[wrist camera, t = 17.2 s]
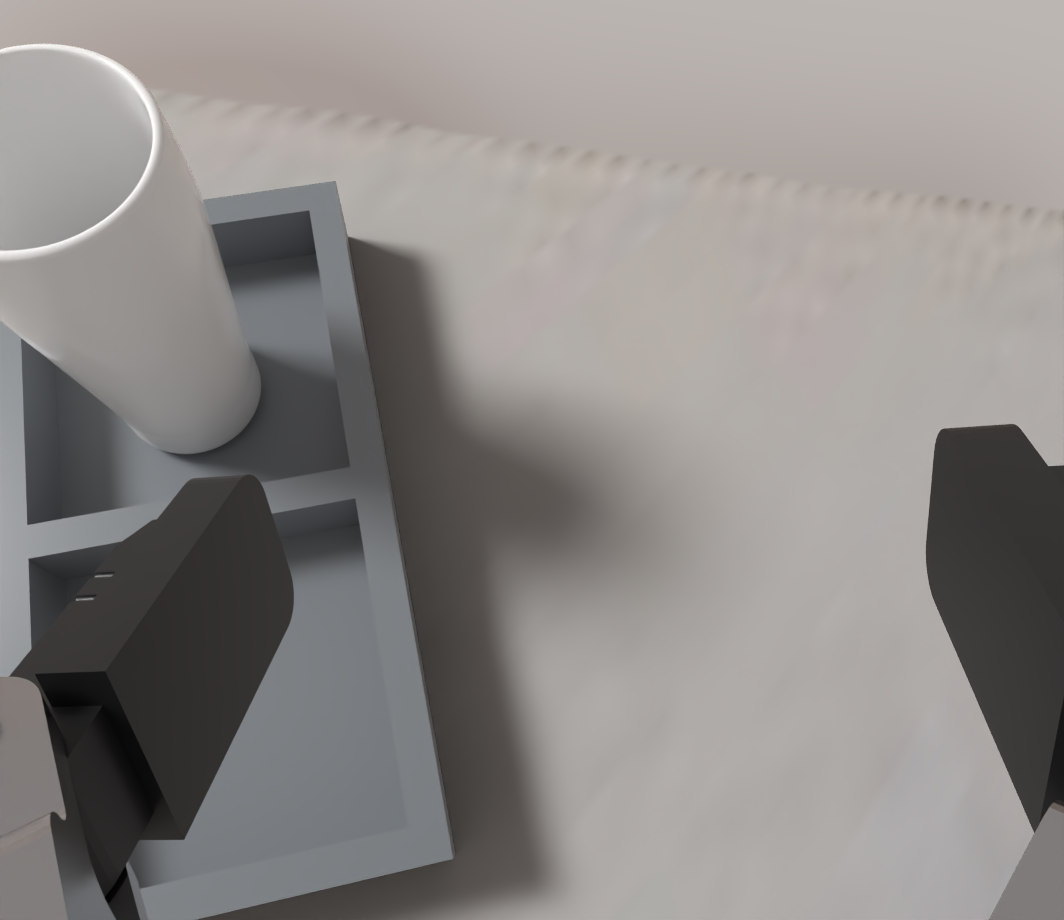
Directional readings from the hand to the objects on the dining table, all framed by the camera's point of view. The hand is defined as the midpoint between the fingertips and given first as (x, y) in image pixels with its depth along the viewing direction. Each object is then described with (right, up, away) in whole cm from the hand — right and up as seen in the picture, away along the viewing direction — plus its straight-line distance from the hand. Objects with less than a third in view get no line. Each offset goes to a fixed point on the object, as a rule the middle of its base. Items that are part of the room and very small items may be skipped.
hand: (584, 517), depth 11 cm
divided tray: (-13, -2, +25) cm, 28 cm away
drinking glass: (-14, +3, +26) cm, 30 cm away
